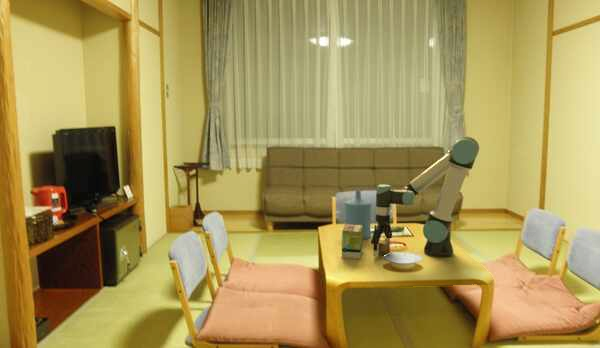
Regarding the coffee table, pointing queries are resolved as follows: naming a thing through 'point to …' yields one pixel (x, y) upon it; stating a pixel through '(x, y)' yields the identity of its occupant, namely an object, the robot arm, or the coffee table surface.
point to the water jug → (359, 213)
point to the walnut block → (384, 247)
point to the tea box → (352, 241)
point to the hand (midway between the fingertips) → (381, 252)
